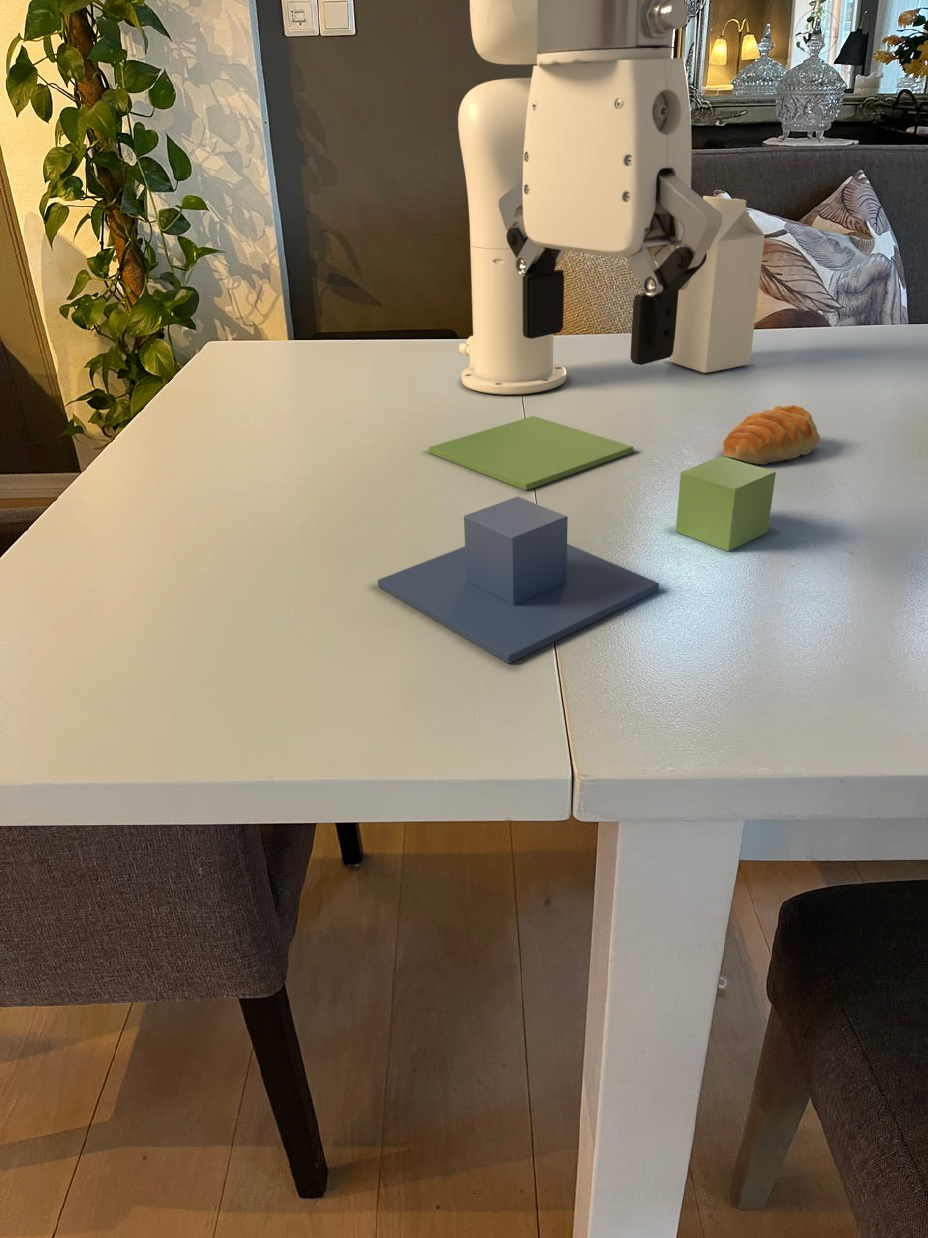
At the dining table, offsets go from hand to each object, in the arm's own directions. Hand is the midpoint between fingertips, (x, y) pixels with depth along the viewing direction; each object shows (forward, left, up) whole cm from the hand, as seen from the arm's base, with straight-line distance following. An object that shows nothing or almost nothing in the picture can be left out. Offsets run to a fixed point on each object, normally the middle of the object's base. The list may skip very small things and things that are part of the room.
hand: (594, 346), depth 59 cm
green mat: (-21, +14, -16) cm, 30 cm away
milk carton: (-29, +52, -16) cm, 62 cm away
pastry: (-5, +30, -16) cm, 35 cm away
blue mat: (-1, -6, -16) cm, 17 cm away
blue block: (-1, -6, -15) cm, 17 cm away
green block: (+3, +12, -16) cm, 20 cm away
